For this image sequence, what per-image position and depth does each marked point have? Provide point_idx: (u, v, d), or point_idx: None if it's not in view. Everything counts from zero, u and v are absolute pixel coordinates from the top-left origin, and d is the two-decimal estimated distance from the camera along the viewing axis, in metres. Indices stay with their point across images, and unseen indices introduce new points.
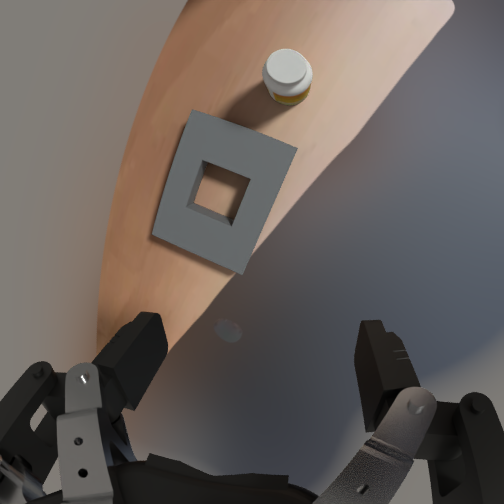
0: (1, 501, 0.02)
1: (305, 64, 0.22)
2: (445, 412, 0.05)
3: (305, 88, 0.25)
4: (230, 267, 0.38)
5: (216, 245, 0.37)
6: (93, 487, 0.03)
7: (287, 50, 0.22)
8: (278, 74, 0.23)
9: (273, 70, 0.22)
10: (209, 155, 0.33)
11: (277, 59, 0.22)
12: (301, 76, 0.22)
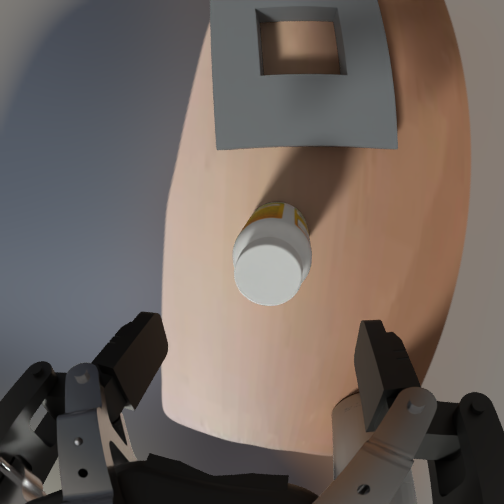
0: (1, 501, 0.02)
1: (240, 289, 0.17)
2: (445, 412, 0.05)
3: (234, 245, 0.19)
4: None
5: None
6: (93, 486, 0.03)
7: (277, 302, 0.17)
8: (273, 256, 0.16)
9: (284, 260, 0.15)
10: (339, 84, 0.17)
11: (286, 281, 0.16)
12: (236, 267, 0.16)
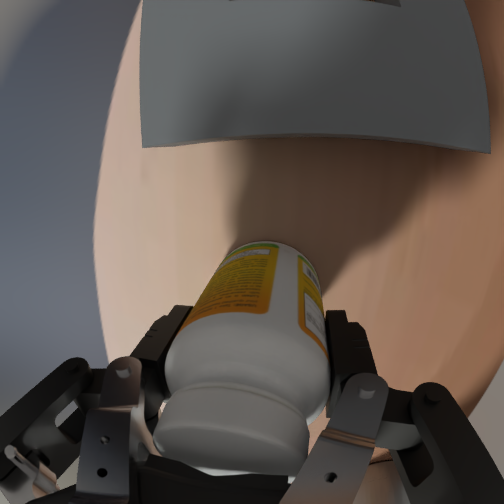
0: (8, 489, 0.03)
1: None
2: (400, 400, 0.06)
3: (166, 362, 0.08)
4: None
5: None
6: (109, 488, 0.03)
7: None
8: (235, 446, 0.05)
9: (263, 453, 0.05)
10: (388, 20, 0.06)
11: (268, 473, 0.05)
12: (156, 442, 0.05)
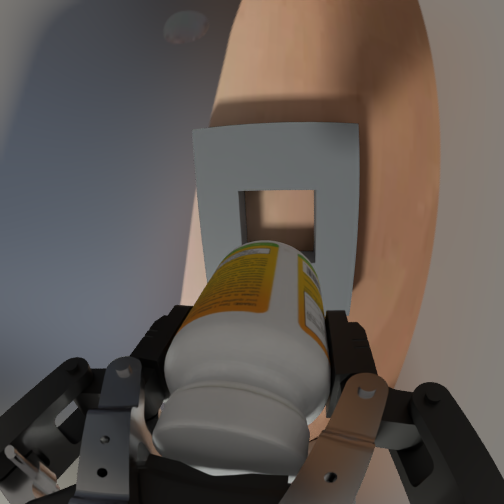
0: (8, 489, 0.03)
1: None
2: (400, 400, 0.06)
3: (165, 361, 0.08)
4: (213, 130, 0.22)
5: (246, 153, 0.22)
6: (109, 488, 0.03)
7: None
8: (234, 446, 0.05)
9: (263, 453, 0.05)
10: None
11: (268, 473, 0.05)
12: (155, 442, 0.05)
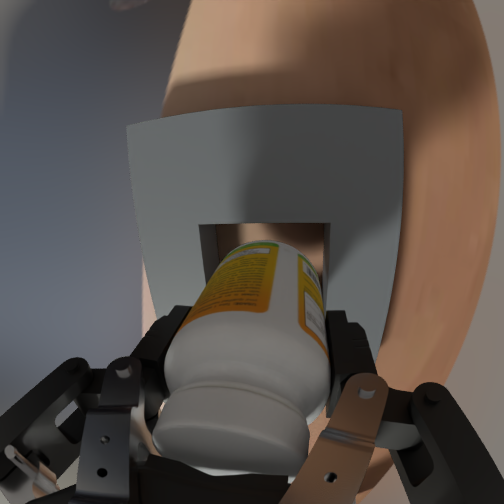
0: (8, 489, 0.03)
1: None
2: (400, 400, 0.06)
3: (165, 361, 0.08)
4: (156, 123, 0.12)
5: (210, 159, 0.13)
6: (109, 488, 0.03)
7: None
8: (234, 446, 0.05)
9: (263, 453, 0.05)
10: None
11: (268, 473, 0.05)
12: (155, 442, 0.05)
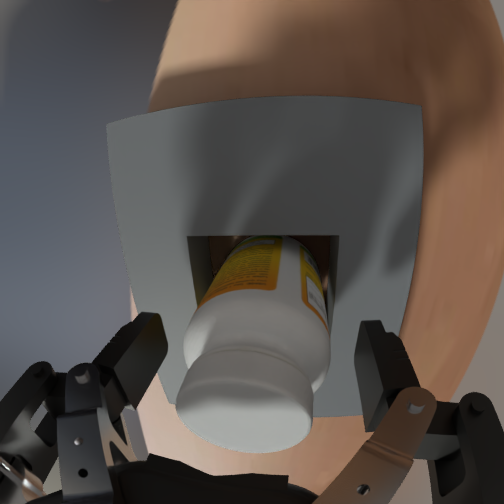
0: (1, 501, 0.02)
1: (193, 431, 0.07)
2: (445, 412, 0.05)
3: (185, 336, 0.09)
4: (138, 120, 0.11)
5: (199, 161, 0.11)
6: (93, 486, 0.03)
7: (262, 450, 0.07)
8: (251, 400, 0.06)
9: (275, 407, 0.06)
10: None
11: (278, 432, 0.07)
12: (179, 405, 0.07)
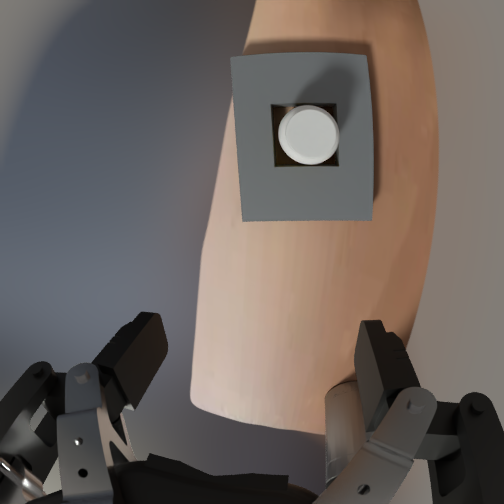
0: (1, 501, 0.02)
1: (290, 144, 0.20)
2: (445, 412, 0.05)
3: (280, 124, 0.22)
4: (248, 57, 0.23)
5: (277, 74, 0.23)
6: (92, 486, 0.03)
7: (319, 154, 0.20)
8: (315, 117, 0.19)
9: (323, 120, 0.19)
10: (332, 174, 0.27)
11: (325, 137, 0.19)
12: (288, 126, 0.20)
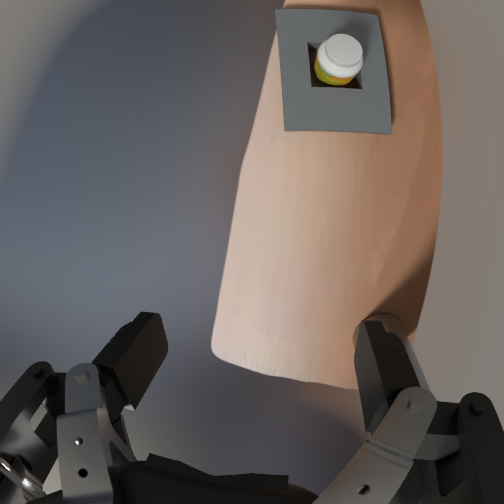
0: (1, 501, 0.02)
1: (330, 54, 0.22)
2: (445, 412, 0.05)
3: (319, 48, 0.24)
4: (289, 10, 0.26)
5: (312, 23, 0.26)
6: (92, 486, 0.03)
7: (351, 62, 0.22)
8: (346, 39, 0.21)
9: (352, 41, 0.21)
10: (357, 95, 0.29)
11: (354, 51, 0.22)
12: (327, 43, 0.22)
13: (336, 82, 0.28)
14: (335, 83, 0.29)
